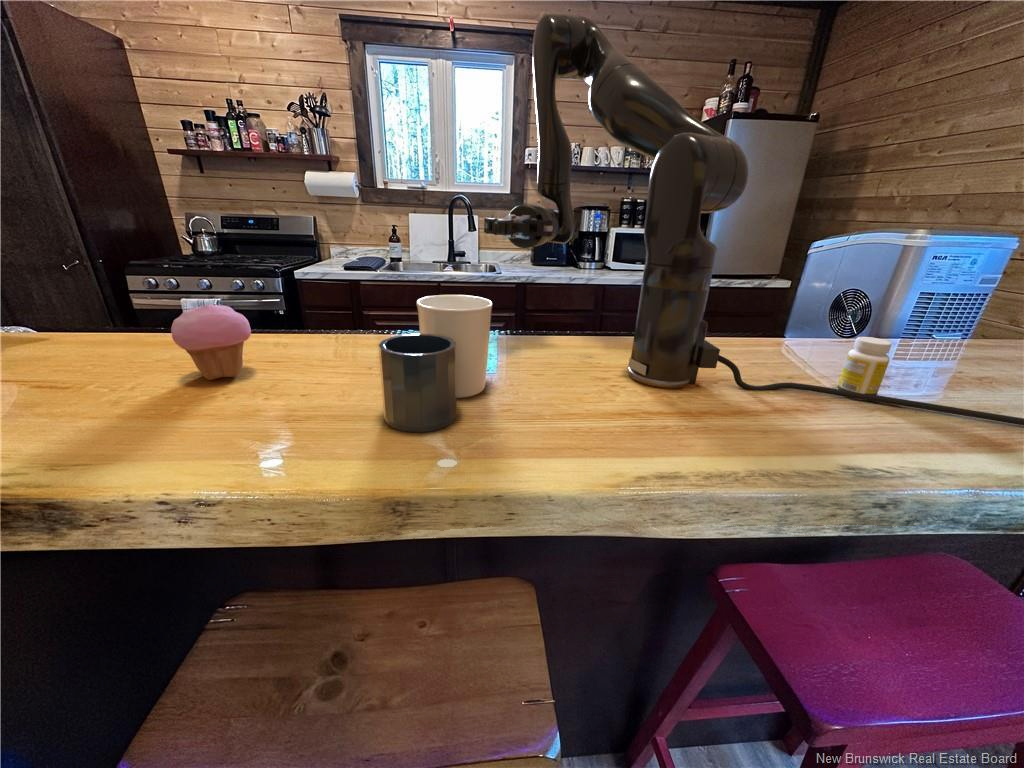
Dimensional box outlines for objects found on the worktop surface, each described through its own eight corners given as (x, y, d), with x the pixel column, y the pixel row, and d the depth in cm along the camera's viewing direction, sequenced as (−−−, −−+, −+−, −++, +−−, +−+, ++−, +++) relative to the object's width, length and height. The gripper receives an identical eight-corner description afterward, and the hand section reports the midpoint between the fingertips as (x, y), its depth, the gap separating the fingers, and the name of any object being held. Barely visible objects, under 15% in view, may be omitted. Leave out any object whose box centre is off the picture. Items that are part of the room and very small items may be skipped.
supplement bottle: (870, 392, 66) (890, 339, 63) (879, 403, 62) (901, 347, 59) (832, 386, 68) (850, 334, 64) (839, 397, 64) (858, 341, 60)
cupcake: (255, 362, 67) (243, 297, 63) (261, 380, 60) (248, 309, 56) (184, 371, 62) (166, 301, 58) (182, 392, 56) (162, 315, 52)
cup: (458, 402, 56) (458, 334, 53) (452, 433, 48) (452, 356, 45) (393, 400, 56) (388, 332, 53) (376, 431, 48) (370, 354, 45)
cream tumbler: (494, 377, 65) (497, 297, 61) (484, 403, 56) (486, 312, 52) (430, 372, 66) (428, 292, 62) (410, 397, 57) (405, 306, 52)
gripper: (498, 203, 83) (461, 200, 67) (566, 206, 79) (543, 202, 64) (497, 245, 86) (461, 250, 70) (563, 249, 82) (540, 255, 67)
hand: (500, 227), depth 67 cm, fingers closed
